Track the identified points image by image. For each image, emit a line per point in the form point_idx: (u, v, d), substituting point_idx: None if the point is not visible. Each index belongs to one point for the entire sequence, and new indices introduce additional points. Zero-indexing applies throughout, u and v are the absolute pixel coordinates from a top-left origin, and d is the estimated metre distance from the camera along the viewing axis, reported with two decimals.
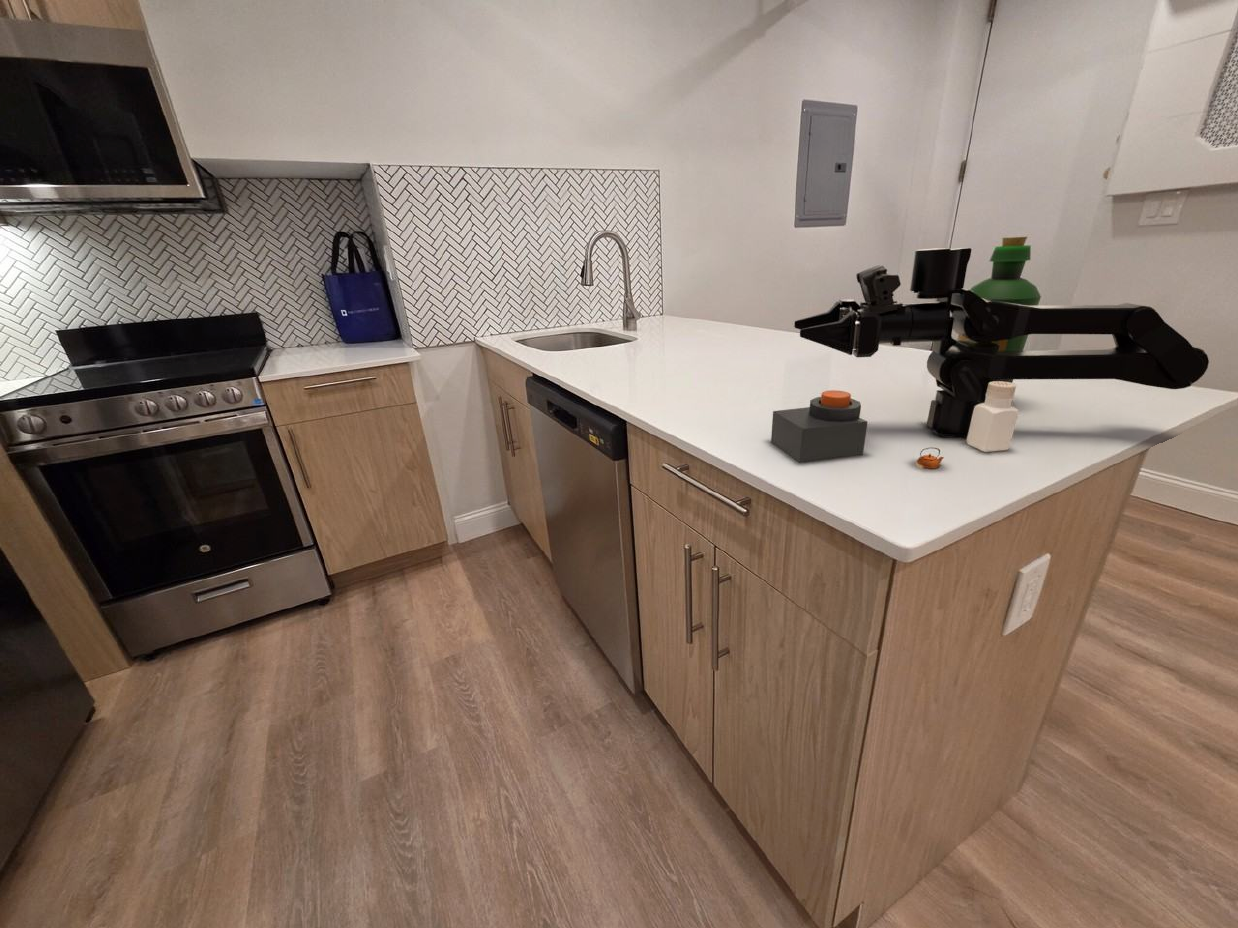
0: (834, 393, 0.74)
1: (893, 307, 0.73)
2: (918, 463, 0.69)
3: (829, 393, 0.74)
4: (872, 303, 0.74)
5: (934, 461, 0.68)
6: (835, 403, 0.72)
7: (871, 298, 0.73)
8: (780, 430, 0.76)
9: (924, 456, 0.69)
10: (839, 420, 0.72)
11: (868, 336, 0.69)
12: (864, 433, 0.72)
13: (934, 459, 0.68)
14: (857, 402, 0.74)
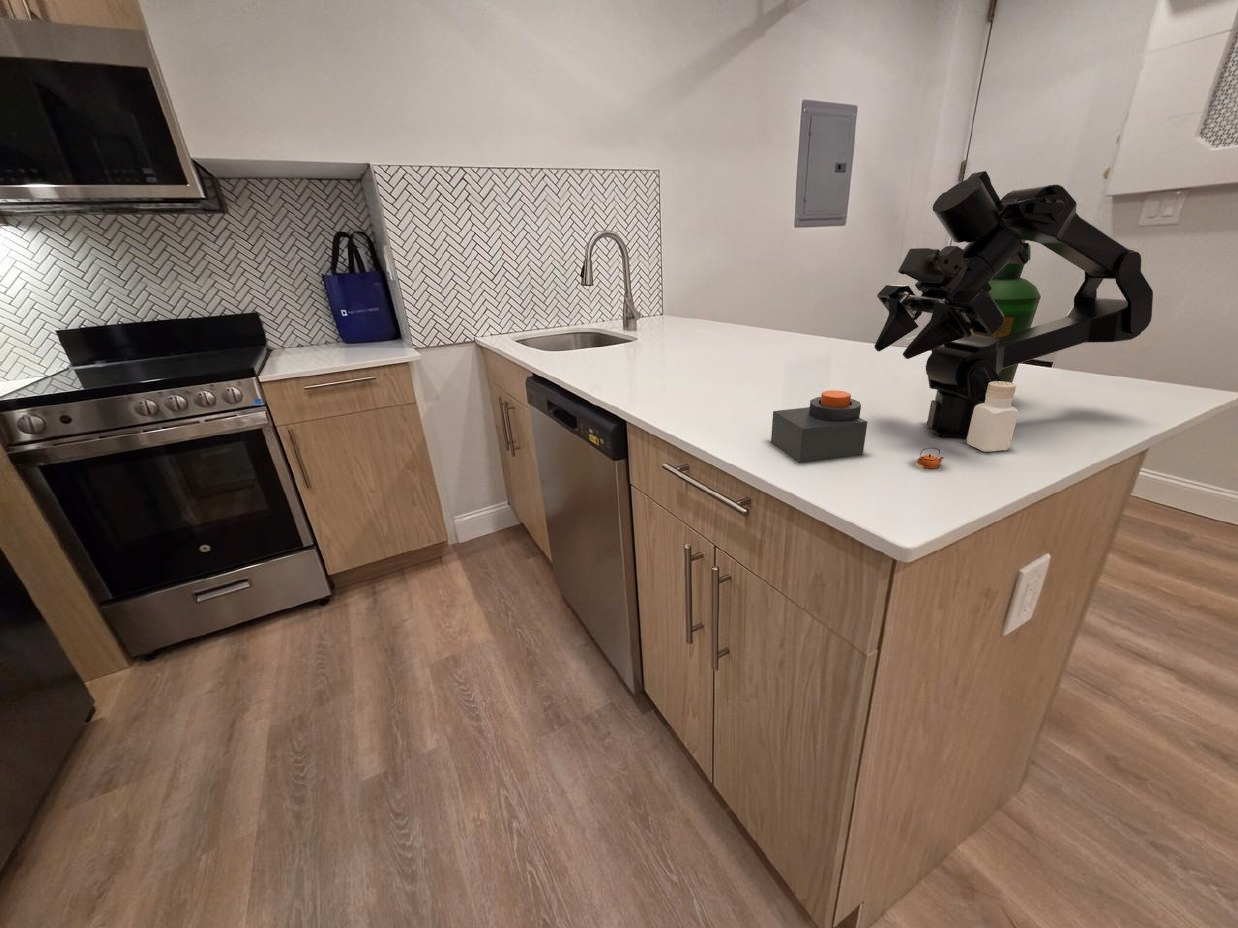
0: (834, 393, 0.74)
1: (964, 269, 0.67)
2: (918, 463, 0.69)
3: (829, 393, 0.74)
4: (943, 281, 0.68)
5: (934, 461, 0.68)
6: (835, 403, 0.72)
7: (940, 279, 0.68)
8: (780, 430, 0.76)
9: (924, 456, 0.69)
10: (839, 420, 0.72)
11: (991, 314, 0.63)
12: (864, 433, 0.72)
13: (934, 459, 0.68)
14: (857, 402, 0.74)
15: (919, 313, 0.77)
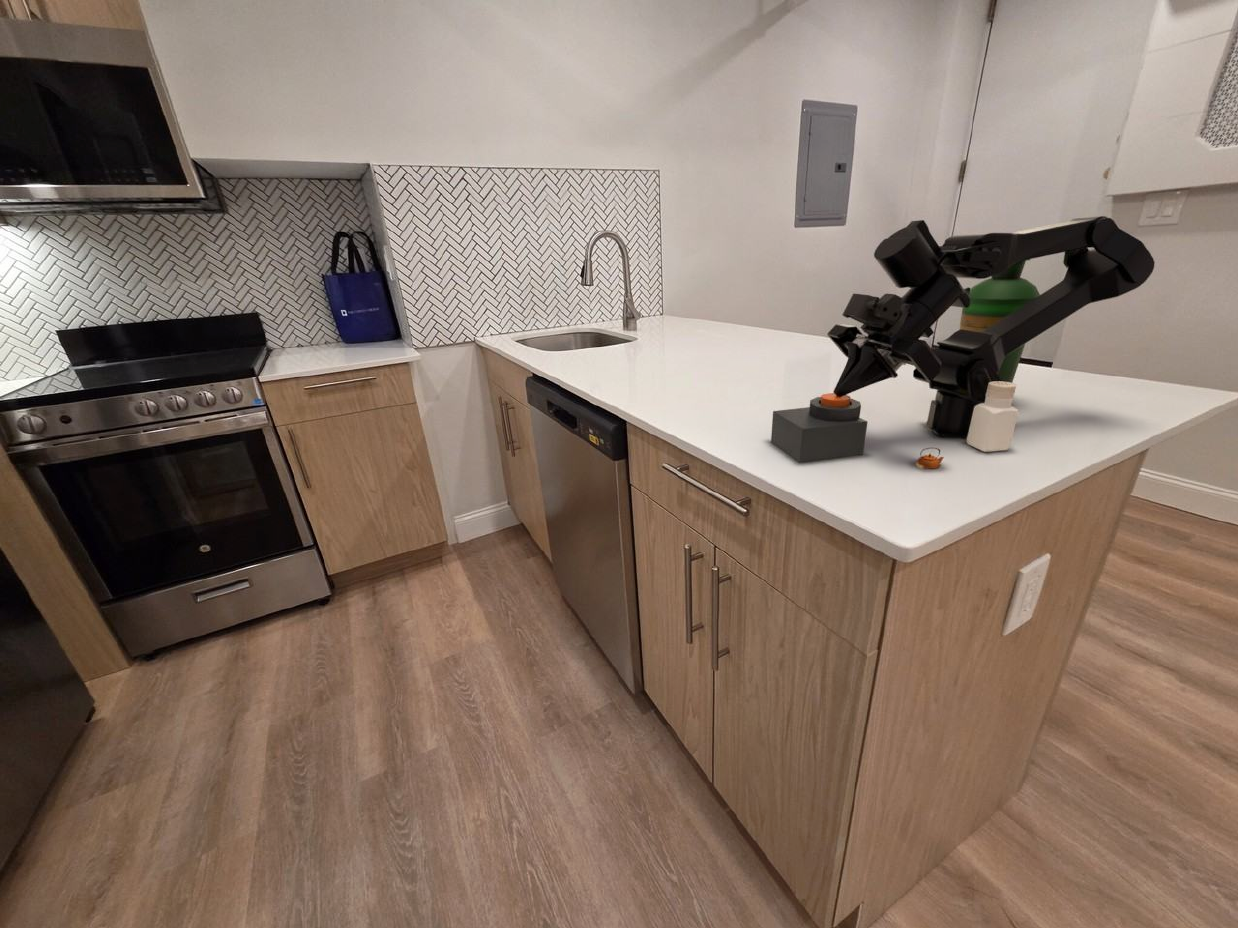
0: (834, 396, 0.74)
1: (905, 314, 0.68)
2: (918, 463, 0.69)
3: (829, 396, 0.74)
4: (885, 326, 0.69)
5: (934, 461, 0.68)
6: (835, 406, 0.73)
7: (882, 325, 0.68)
8: (780, 430, 0.76)
9: (924, 456, 0.69)
10: (839, 420, 0.72)
11: (927, 362, 0.64)
12: (864, 433, 0.72)
13: (934, 459, 0.68)
14: (857, 402, 0.74)
15: None
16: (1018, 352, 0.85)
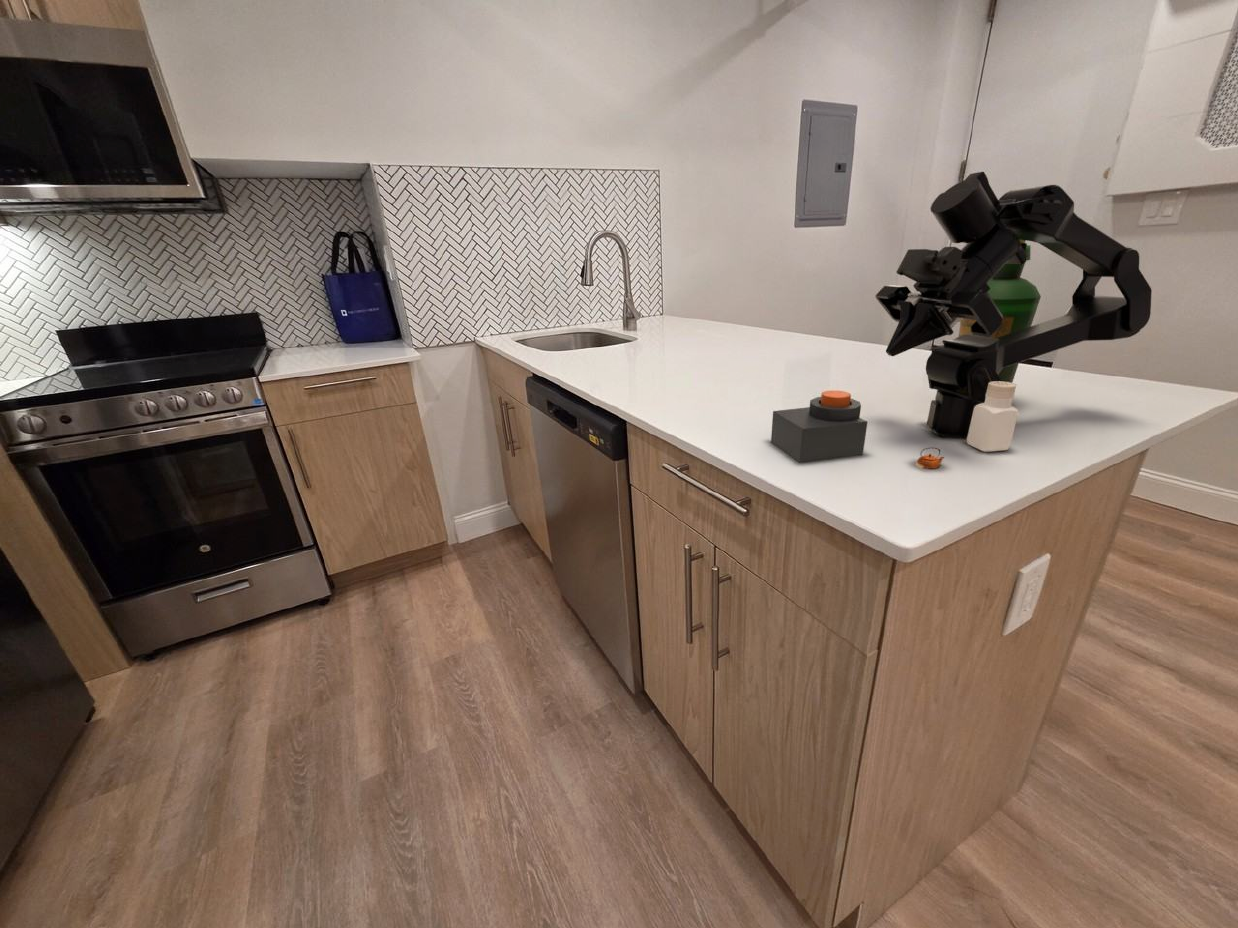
0: (834, 393, 0.74)
1: (962, 269, 0.67)
2: (918, 463, 0.69)
3: (829, 393, 0.74)
4: (942, 282, 0.68)
5: (934, 461, 0.68)
6: (835, 403, 0.72)
7: (939, 280, 0.67)
8: (780, 430, 0.76)
9: (924, 456, 0.69)
10: (839, 420, 0.72)
11: (989, 315, 0.63)
12: (864, 433, 0.72)
13: (934, 459, 0.68)
14: (857, 402, 0.74)
15: None
16: None
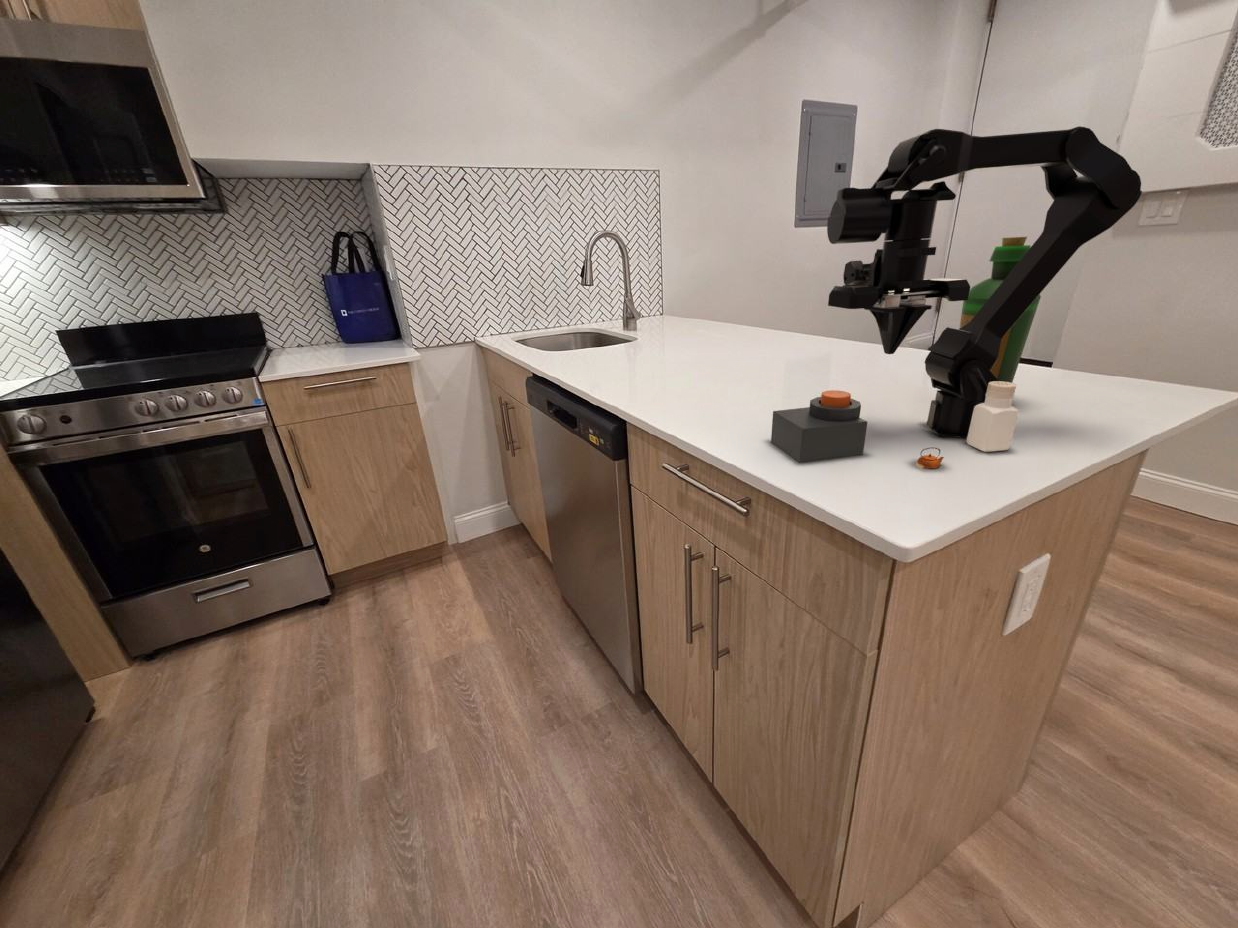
0: (834, 393, 0.74)
1: (874, 262, 0.72)
2: (918, 463, 0.69)
3: (829, 393, 0.74)
4: None
5: (934, 461, 0.68)
6: (835, 403, 0.72)
7: (866, 283, 0.75)
8: (780, 430, 0.76)
9: (924, 456, 0.69)
10: (839, 420, 0.72)
11: (839, 298, 0.71)
12: (864, 433, 0.72)
13: (934, 459, 0.68)
14: (857, 402, 0.74)
15: (947, 289, 0.70)
16: (1018, 352, 0.85)
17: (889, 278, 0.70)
